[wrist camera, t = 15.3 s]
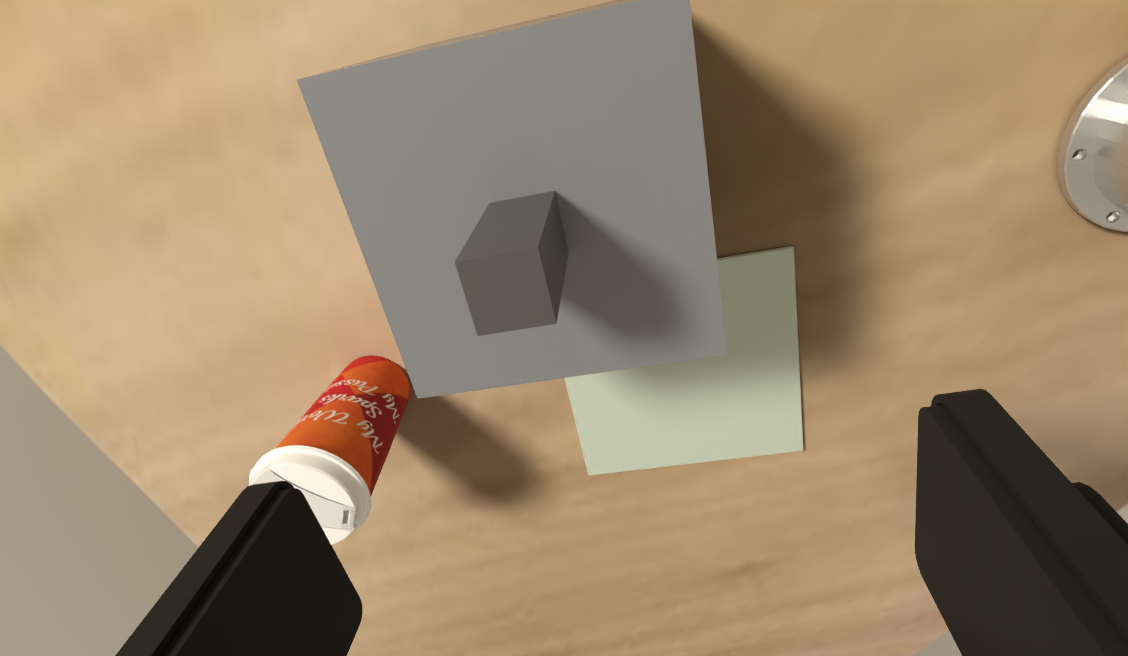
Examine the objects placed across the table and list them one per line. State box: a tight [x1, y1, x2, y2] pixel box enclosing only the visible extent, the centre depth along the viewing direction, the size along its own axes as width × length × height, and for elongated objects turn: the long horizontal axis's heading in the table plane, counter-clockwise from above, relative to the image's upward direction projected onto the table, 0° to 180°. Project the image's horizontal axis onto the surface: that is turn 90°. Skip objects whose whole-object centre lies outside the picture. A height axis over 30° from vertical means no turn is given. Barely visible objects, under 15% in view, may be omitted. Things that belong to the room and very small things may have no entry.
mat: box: [565, 246, 803, 475], centre depth 52 cm, size 19×19×1 cm
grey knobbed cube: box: [297, 0, 727, 399], centre depth 33 cm, size 16×16×25 cm
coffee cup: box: [249, 356, 410, 544], centre depth 48 cm, size 8×8×15 cm
